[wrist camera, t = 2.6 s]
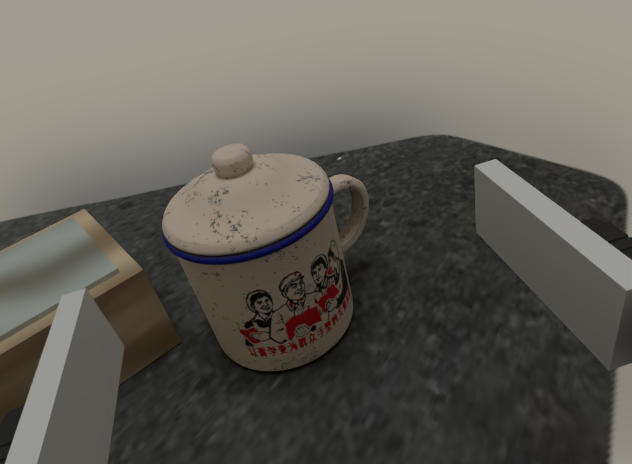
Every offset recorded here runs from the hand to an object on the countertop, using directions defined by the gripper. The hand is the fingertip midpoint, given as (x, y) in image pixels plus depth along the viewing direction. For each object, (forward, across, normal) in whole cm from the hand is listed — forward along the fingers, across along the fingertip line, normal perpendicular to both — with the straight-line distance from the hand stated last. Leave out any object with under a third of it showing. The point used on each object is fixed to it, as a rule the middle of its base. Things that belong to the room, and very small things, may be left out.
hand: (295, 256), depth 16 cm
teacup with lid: (+10, 0, -11) cm, 15 cm away
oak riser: (+12, -16, -11) cm, 23 cm away
